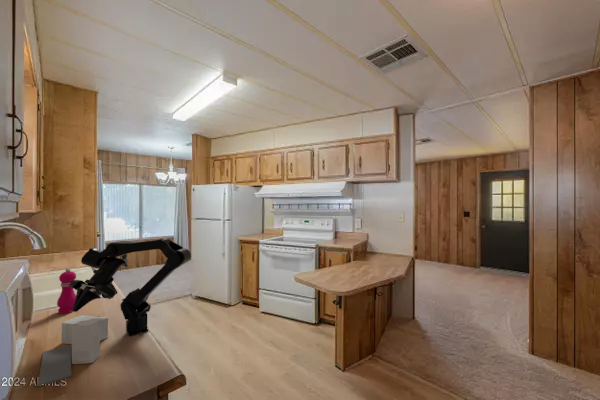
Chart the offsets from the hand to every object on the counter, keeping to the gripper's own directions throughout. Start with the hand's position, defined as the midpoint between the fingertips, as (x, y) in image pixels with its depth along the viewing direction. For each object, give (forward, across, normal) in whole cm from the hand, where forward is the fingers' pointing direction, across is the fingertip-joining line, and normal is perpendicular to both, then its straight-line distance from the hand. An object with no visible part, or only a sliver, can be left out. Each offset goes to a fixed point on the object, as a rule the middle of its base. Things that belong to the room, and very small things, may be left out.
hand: (74, 311), depth 95 cm
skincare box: (+12, -13, -6) cm, 19 cm away
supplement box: (+4, +8, -8) cm, 12 cm away
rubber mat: (+15, -7, -2) cm, 16 cm away
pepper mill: (-4, +39, -22) cm, 45 cm away
